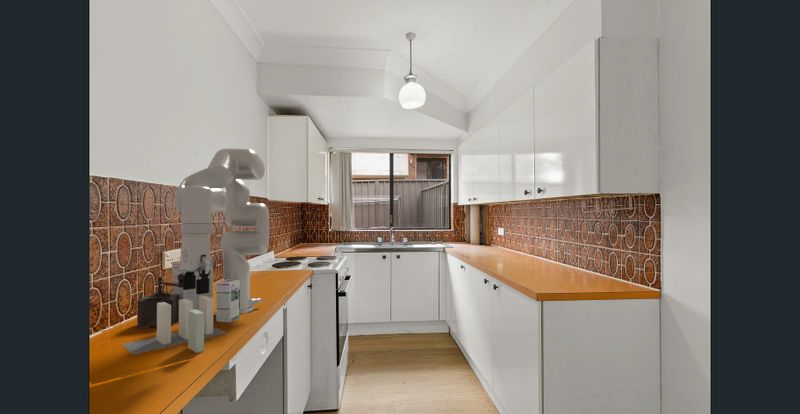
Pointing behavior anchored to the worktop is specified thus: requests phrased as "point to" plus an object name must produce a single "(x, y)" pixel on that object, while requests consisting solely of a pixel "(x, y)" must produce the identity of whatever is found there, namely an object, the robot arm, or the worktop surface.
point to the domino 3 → (196, 330)
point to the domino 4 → (207, 313)
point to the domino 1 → (164, 322)
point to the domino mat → (155, 344)
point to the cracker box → (190, 293)
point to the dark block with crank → (149, 305)
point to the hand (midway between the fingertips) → (195, 291)
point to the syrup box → (228, 300)
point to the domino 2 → (184, 316)
